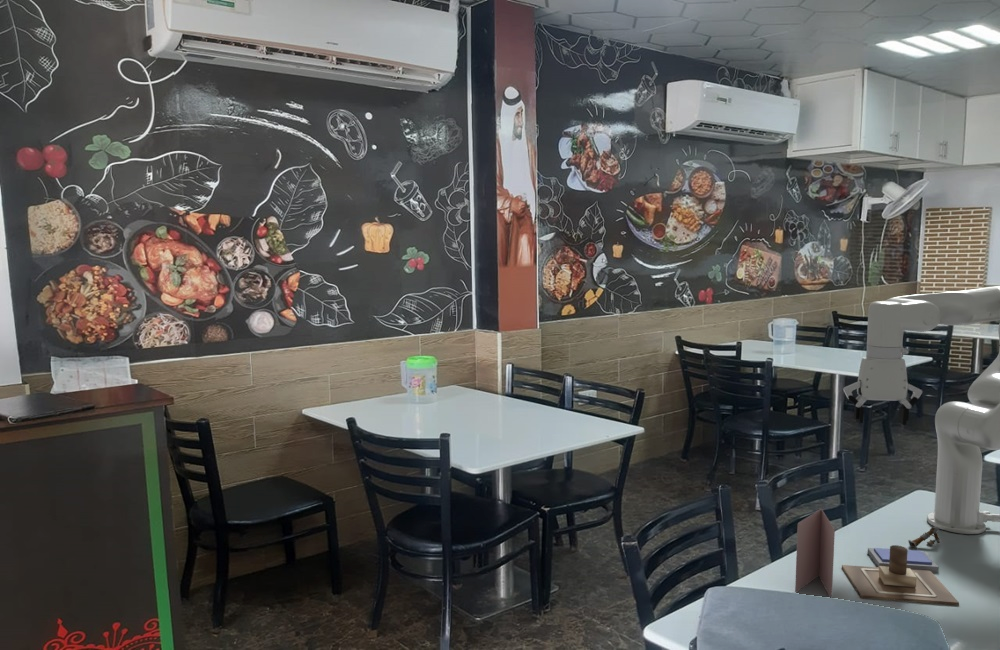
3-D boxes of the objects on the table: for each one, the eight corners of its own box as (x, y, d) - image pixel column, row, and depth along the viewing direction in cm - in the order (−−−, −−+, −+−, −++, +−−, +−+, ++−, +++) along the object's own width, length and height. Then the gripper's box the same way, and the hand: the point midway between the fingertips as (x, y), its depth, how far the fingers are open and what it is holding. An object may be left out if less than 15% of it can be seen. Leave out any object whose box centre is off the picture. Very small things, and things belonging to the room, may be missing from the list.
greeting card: (814, 574, 155) (817, 507, 154) (850, 585, 150) (853, 516, 148) (791, 591, 147) (793, 522, 146) (827, 604, 142) (830, 532, 140)
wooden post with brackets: (945, 541, 169) (940, 525, 168) (919, 558, 168) (913, 542, 167) (939, 538, 171) (933, 523, 170) (913, 555, 169) (907, 539, 168)
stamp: (909, 579, 151) (911, 545, 150) (916, 588, 147) (917, 553, 146) (878, 577, 152) (880, 543, 151) (884, 585, 148) (885, 551, 147)
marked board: (930, 573, 155) (930, 570, 155) (959, 605, 141) (959, 601, 141) (841, 567, 158) (841, 564, 158) (861, 598, 144) (861, 594, 144)
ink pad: (923, 556, 163) (924, 549, 163) (938, 572, 155) (938, 564, 155) (867, 552, 165) (867, 545, 165) (879, 568, 158) (879, 560, 157)
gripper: (917, 351, 172) (913, 420, 174) (840, 350, 175) (838, 418, 177) (930, 356, 165) (926, 428, 167) (849, 354, 168) (846, 425, 170)
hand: (880, 422), depth 172 cm, fingers open, 9 cm apart
